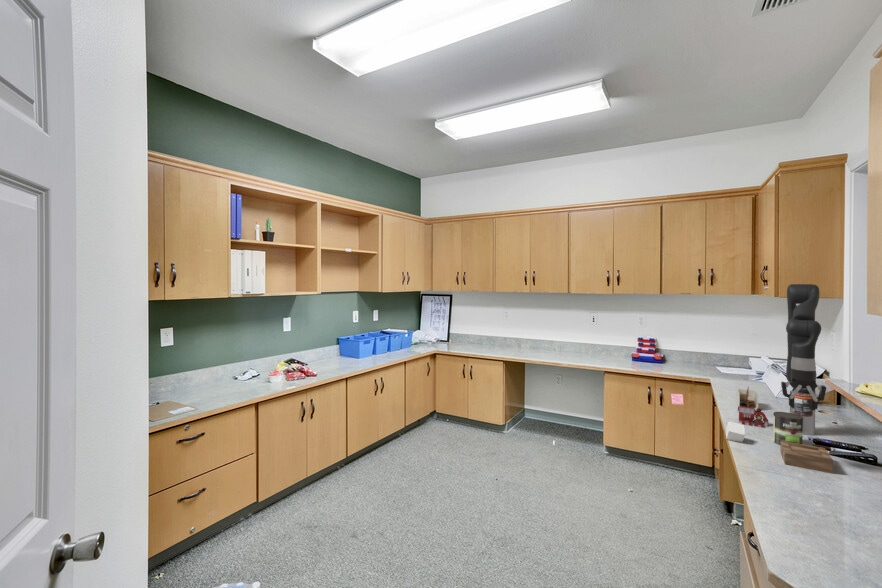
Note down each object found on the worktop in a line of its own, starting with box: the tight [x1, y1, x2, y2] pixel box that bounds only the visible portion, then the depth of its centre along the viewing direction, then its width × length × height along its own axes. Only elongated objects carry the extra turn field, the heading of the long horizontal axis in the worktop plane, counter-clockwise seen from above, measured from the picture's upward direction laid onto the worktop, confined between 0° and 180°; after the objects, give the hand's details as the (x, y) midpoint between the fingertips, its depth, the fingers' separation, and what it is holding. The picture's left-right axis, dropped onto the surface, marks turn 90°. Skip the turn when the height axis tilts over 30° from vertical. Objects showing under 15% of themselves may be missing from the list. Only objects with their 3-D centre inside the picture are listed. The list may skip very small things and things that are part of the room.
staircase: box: [736, 386, 759, 410], centre depth 230 cm, size 9×11×17 cm
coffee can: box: [772, 411, 804, 446], centre depth 179 cm, size 10×10×14 cm
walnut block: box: [779, 441, 834, 474], centre depth 161 cm, size 14×14×6 cm
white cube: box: [725, 421, 746, 443], centre depth 184 cm, size 6×6×6 cm
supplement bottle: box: [793, 388, 813, 417], centre depth 162 cm, size 6×6×11 cm
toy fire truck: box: [737, 405, 769, 429], centre depth 203 cm, size 7×12×10 cm, turn 56°
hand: (802, 408), depth 162 cm, fingers closed on supplement bottle, 6 cm apart
